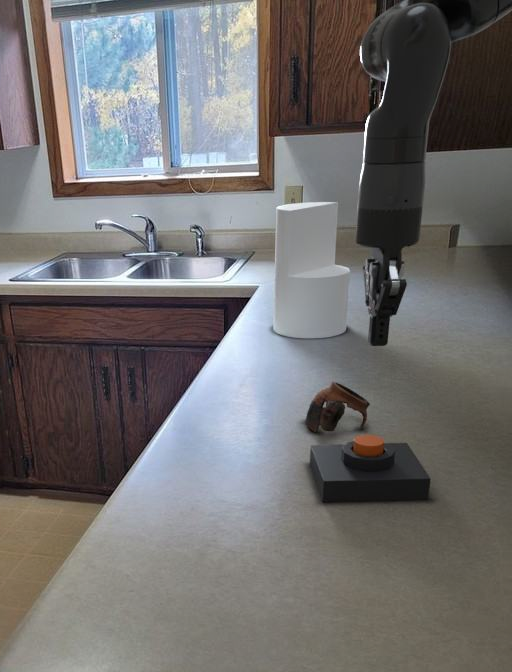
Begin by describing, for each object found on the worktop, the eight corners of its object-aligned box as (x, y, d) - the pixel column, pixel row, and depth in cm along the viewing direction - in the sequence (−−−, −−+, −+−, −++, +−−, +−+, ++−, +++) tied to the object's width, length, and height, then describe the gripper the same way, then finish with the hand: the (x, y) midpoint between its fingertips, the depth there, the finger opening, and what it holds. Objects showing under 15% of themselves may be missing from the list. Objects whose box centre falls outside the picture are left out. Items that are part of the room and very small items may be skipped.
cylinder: (258, 330, 180) (260, 208, 167) (303, 316, 190) (308, 200, 177) (315, 342, 168) (322, 212, 155) (360, 327, 178) (370, 203, 165)
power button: (379, 445, 104) (380, 434, 104) (386, 457, 101) (387, 445, 100) (350, 446, 105) (351, 435, 104) (356, 458, 101) (357, 446, 100)
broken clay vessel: (303, 416, 129) (329, 375, 126) (351, 445, 127) (377, 404, 125) (294, 425, 118) (321, 380, 115) (345, 456, 116) (375, 411, 113)
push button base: (404, 462, 110) (408, 431, 107) (428, 499, 99) (432, 466, 97) (309, 464, 110) (311, 433, 108) (322, 502, 100) (324, 469, 98)
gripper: (438, 207, 82) (421, 358, 90) (407, 196, 94) (394, 330, 102) (370, 211, 83) (358, 360, 90) (347, 199, 94) (339, 332, 102)
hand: (377, 344), depth 96 cm, fingers closed
